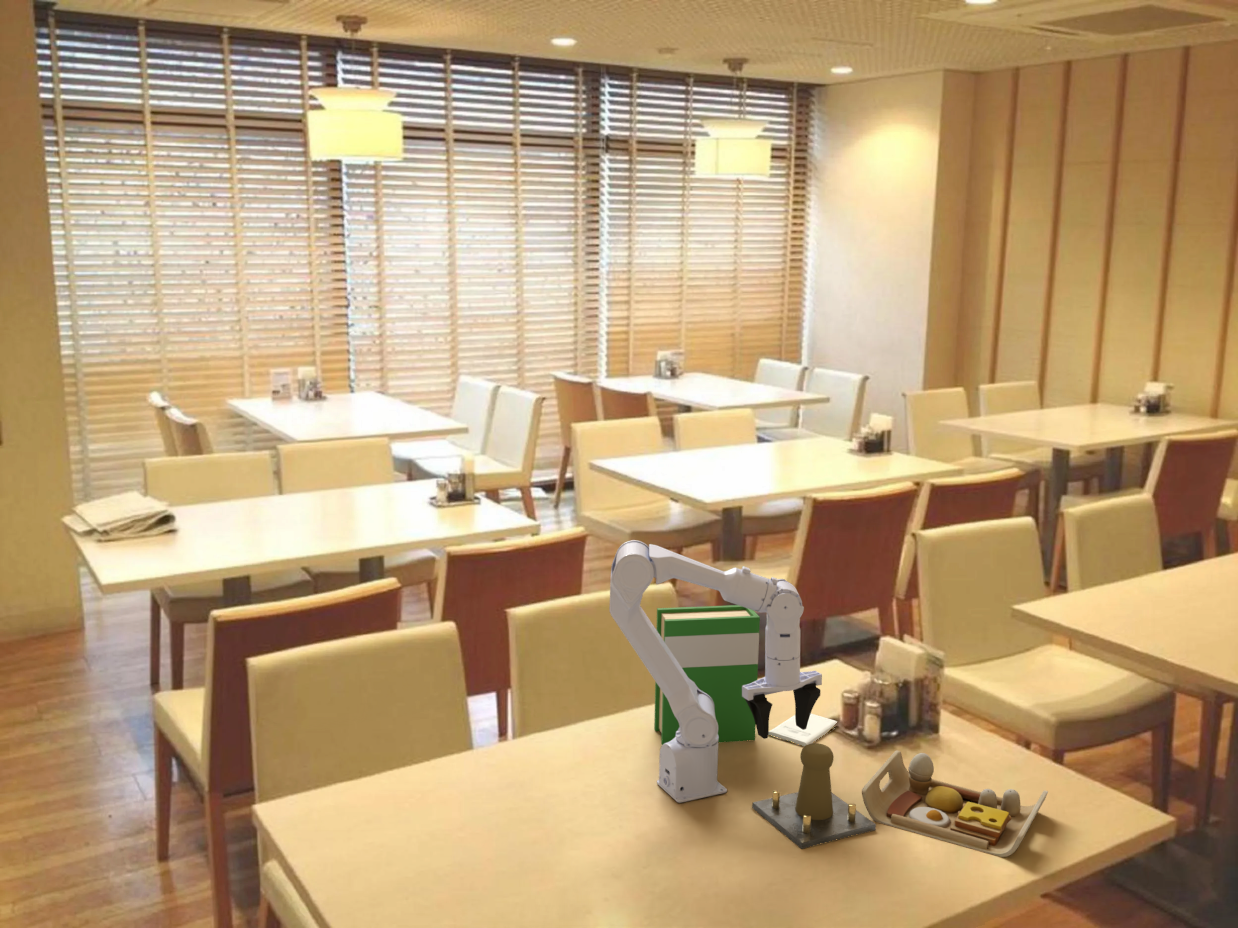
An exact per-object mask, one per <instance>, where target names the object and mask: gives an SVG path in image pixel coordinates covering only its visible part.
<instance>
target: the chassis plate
mask: <svg viewBox="0 0 1238 928" xmlns="http://www.w3.org/2000/svg"><path fill="white" fill-rule="evenodd" d="M798 792H799V791H796V792H792V793H788V794H783V795H781V791H779V790H772V792H771V793H772V796H771V798H766V799H762V800H757V801H754V802H752V809H753V810H754V811H755V812H756V811H757V812H756V813H757V814H758V815H760V816H761V817H762V818H763V819H765V820H766V821H767V822H769V823H770V824H771V825H772V826H773V827H774V828H776V829H777V830H778V831H780V833H782V834H783V835H786V836H785V837H786V838H788V839H789V840H790V841H791V840H792V841H791V842H793V843H794V845H796V846H798V848H800V849H801V850H802V849H806V847H807V848H811V847H814V846H813V845H815V846H818V845H817V844H819V845H821V844H820V843H823V844H825V842H827V843H829V841H831V842H833V841H832V840H835V841H837V840H836V839H838V840H841V839H840V838H842V839H845V838H844V837H846V838H849V837H848V836H850V837H852V836H851V835H854V836H857V835H856V834H858V835H862V834H865V832H866V833H870V832H873V831H876V827H877V824H876V823H875V822H873V821H872V820H871V819H869V818H868V817H867V816H865V815H864V814H862V813H861V812H859V811H858V810H857V805H856V804H855V803H847V802H846V801H844V800H843V799H841V797H839V796H838V795H836V794H835V793H833V792H832V804H833V815H832V816H831V817H829V818H827V819H823V820H813V819H811V816H810V815H808V814H805V815H803V817H802V816H800V815H799V814H798V813H797V812H796V810H795V807H796V802H797V797H798ZM869 831H870V832H869ZM861 833H862V834H861ZM810 846H811V847H810Z"/></svg>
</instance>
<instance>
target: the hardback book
mask: <svg viewBox="0 0 1238 928" xmlns="http://www.w3.org/2000/svg"><path fill="white" fill-rule="evenodd" d="M757 613H758V612H757V611H754V610H751V609H748V608H745V607H742V606H739V605H736V604H733V605H732V604H731V605H730V604H729V605H710V606H706V605H705V606H685V607H680V606H679V607H661V608H660V607H657V608H656V630H657V631H658V633H659V634H660V636H661V637H662V639H663V640H664V642H665V643H666V645H667V646H668V648H669V649H670V651H671V652H672V654H673V655H674V657H675V658H676V660H677V661H678V663H679V664H680V666H681V667H682V669H683V670H684V672H685V673H686V675H687V676H688V678H689V679H690V680H692V681H693V682H694V683H695V684H696V686H697V687H698V688H699V689H700V690H701V691H703V692H705V693H706V694H708V695H709V696H710V697H711V698H712V700H713V702H714V705H715V717H716V721H717V723H718V736H719V738H718V742H720V743H732V742H733V743H735V742H749V740H753V741H755V740H756V724H755V720H754V717H753V715H752V712H751V710H750V708H749V706H748V704H747V702H746V700H745V699H744V697H742V686H743V685H747V684H750V683H752V682H754V681H757V680H758V675H759V674H758V671H759V670H758V669H759V652H760V651H759V647H760V644H759V643H760V621H761V620H760V619H761V617H760V616H759V615H758V614H757ZM654 681H655V680H654ZM654 684H655V686H654V723H653V724H654V726H653V727H654V728H653V729H654V732H660V733H661V739H660V741H661V746H662V745H663V744H664V743H667V742H669V741H671V740H672V739H674V738H675V737H676V731H678V729H679V727H680V726H679V722H678V720H677V719H676V717H675V716H674V714H673V711H672V709H671V706H670V704H669V702H668V699H667V698H666V696H665V695H664V693H663V692H662V690H661V689H660V687H659V686H658V684H657V683H656V681H655V683H654ZM747 740H748V741H747Z"/></svg>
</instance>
